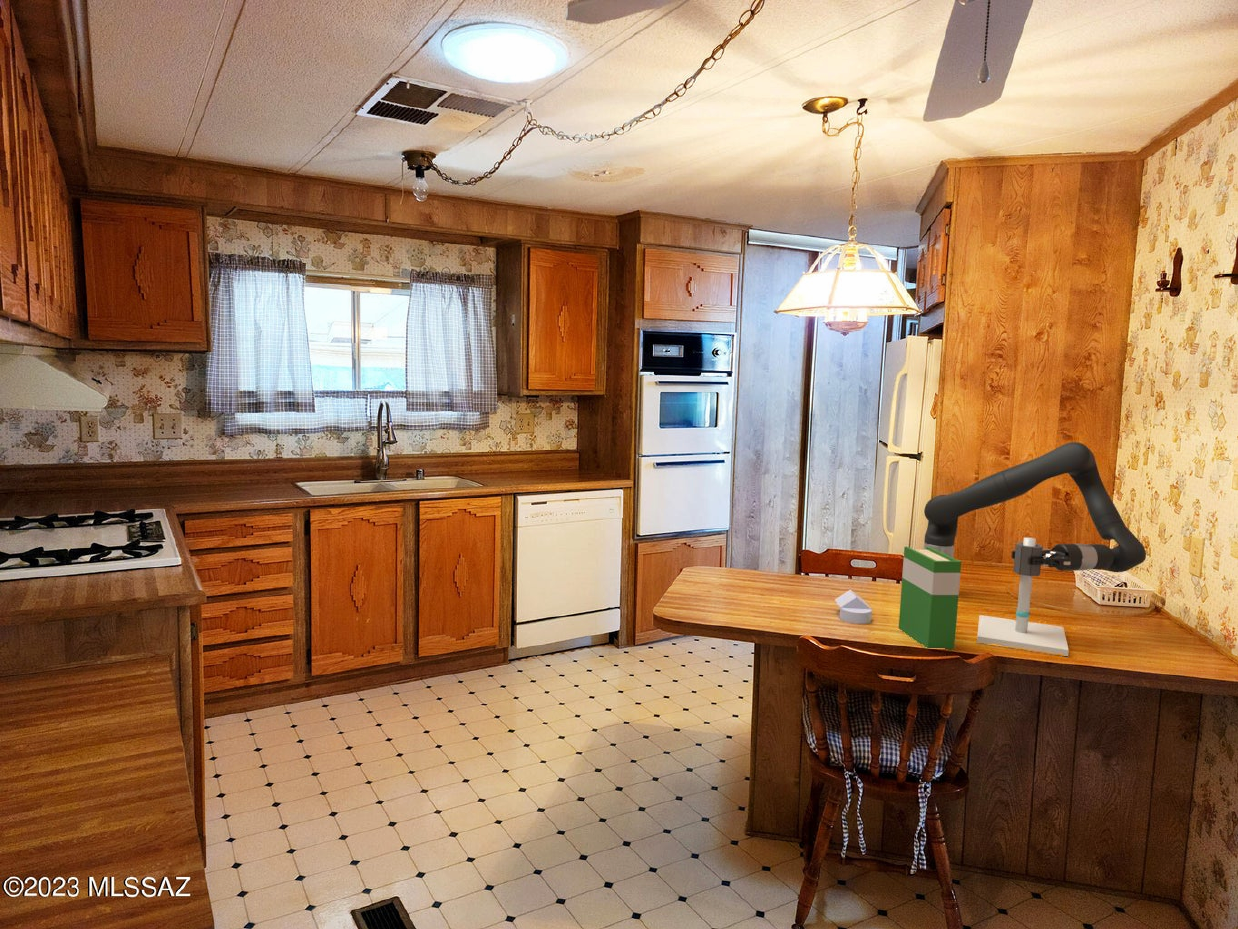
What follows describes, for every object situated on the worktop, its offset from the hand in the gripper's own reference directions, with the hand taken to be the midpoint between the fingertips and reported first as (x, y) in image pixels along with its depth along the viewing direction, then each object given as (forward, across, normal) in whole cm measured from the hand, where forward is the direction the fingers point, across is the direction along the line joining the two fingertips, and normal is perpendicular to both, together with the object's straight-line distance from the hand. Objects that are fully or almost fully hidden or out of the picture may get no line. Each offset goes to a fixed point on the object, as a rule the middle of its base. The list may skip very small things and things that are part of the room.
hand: (1020, 557), depth 225 cm
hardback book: (+25, -2, +23) cm, 35 cm away
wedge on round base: (+37, -23, +23) cm, 49 cm away
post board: (-2, 0, +23) cm, 23 cm away
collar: (-2, 0, +4) cm, 5 cm away
